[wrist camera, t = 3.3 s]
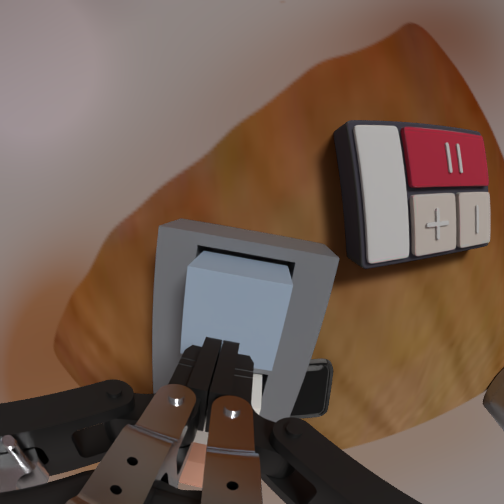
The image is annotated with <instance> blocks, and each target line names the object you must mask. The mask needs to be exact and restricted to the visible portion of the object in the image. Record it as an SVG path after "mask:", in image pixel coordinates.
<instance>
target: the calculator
mask: <svg viewBox="0 0 504 504" xmlns="http://www.w3.org/2000/svg"><path fill="white" fill-rule="evenodd" d="M334 141H335V147H336V154H337V161H338V168H339V176H340V184H341V192H342V202H343V212H344V223H345V236H346V251H347V257H348V258H349V259H350V260H352V261H353V262H355V263H356V264H358V265H359V266H361V267H362V268H364V269H368V268H374V267H380V266H386V265H392V264H397V263H403V262H408V261H414V260H419V259H425V258H430V257H435V256H440V255H445V254H450V253H455V252H460V251H465V250H470V249H475V248H479V247H484V246H487V245H488V242H489V241H490V196H489V193H488V184H489V180H488V170H487V162H486V154H485V148H484V142H483V138H482V136H481V134H480V133H479V132H477V131H472V130H466V129H460V128H453V127H446V126H439V125H430V124H420V123H408V122H393V121H366V120H351V121H348V122H346V123H345V124H343V125H342V126H341V127H339V128H338V129H337V130H336V131H334Z"/></svg>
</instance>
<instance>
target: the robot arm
mask: <svg viewBox="0 0 504 504" xmlns="http://www.w3.org/2000/svg"><path fill="white" fill-rule="evenodd" d="M239 344H240V343H238V342H232V341H227V340H223V344H222V340H221V339H216V338H211V337H206V338H205V340H204V343H203V345H202V347H201V346H196V345H191V346H190V347H188V348H187V349H185V350H184V353H183V355H182V357H181V359H180V361H179V363H178V365H177V367H176V369H175V371H174V373H173V375H172V377H171V379H170V382H169V384H168V385H165V386H162V387H161V388H160V389H159V390H158V391H157V392H156V393H154V394H137V393H133V389H132V388H131V387H130V386H129V385H128V384H127V383H125V382H123V381H120V380H106V381H102V382H99V383H95V384H91V385H87V386H83V387H79V388H76V389H71V390H67V391H63V392H59V393H55V394H50V395H45V396H40V397H35V398H30V399H25V400H19V401H14V402H8V403H1V404H0V504H263V500H262V486H261V479H262V480H263V481H264V482H265V483H266V484H267V485H268V486H269V487H270V488H271V489H272V490H273V491H274V492H275V493H276V494H277V495H278V496H279V497H280V498H281V499H282V500H283V501H284V502H285V503H286V504H422V503H420V502H418V501H416V500H415V499H413V498H411V497H410V496H408V495H406V494H405V493H403V492H402V491H400V490H398V489H397V488H395V487H394V486H392V485H391V484H389V483H388V482H386V481H384V480H383V479H381V478H380V477H378V476H377V475H375V474H374V473H373V472H371V471H370V470H368V469H367V468H365V467H364V466H363V465H361V464H360V463H358V462H357V461H356V460H354V459H353V458H352V457H350V456H349V455H348V454H346V453H345V452H344V451H342V450H341V449H340V448H338V447H337V446H336V445H335V444H333V443H332V442H331V441H329V440H328V439H327V438H326V437H324V436H323V435H322V434H321V433H319V432H318V431H317V430H316V429H315V428H313V427H312V426H311V425H310V424H308V423H307V422H306V421H304V420H302V419H299V418H294V417H286V418H282V419H280V420H278V421H277V422H273V421H271V420H268V419H265V418H263V417H261V416H260V415H258V414H257V413H256V412H255V411H254V409H253V407H252V404H251V400H252V385H253V371H254V362H253V361H252V359H251V357H250V356H249V355H243V354H238V350H239ZM483 405H484V407H485V408H486V409H487V410H488V412H489V413H490V414H491V415H492V416H493V418H494V419H495V420H496V422H497V423H498V424H499V426H500V427H501V428H502V429H503V431H504V368H503V370H502V371H501V372H500V373H499V374H498V375H497V376H496V378H495V379H494V380H493V382H492V383H491V385H490V386H489V388H488V390H487V391H486V394H485V396H484V399H483ZM205 422H206V426H205ZM97 424H98V425H97ZM94 425H95V426H94ZM91 426H92V427H91ZM204 426H205V432H208V440H207V448H206V456H205V465H204V474H203V484H202V491H196V490H180V489H178V483H179V479H180V476H181V474H182V471H183V469H184V466H185V464H186V461H187V459H188V456H189V454H190V451H191V448H192V446H193V441H194V439H195V436H196V432H197V430H199V431H203V430H204ZM84 428H85V429H84ZM77 430H78V431H77ZM100 461H101V462H100ZM97 462H100V463H99V465H98V466H97V468H96V469H95V470H89V471H84V472H81V473H78V474H76V475H72V476H69V477H66V478H63V479H59V480H55V481H52V482H48V479H49V476H52V475H56V474H60V473H64V472H68V471H71V470H75V469H78V468H81V467H85V466H88V465H91V464H94V463H97ZM47 482H48V483H47Z"/></svg>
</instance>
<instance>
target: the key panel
mask: <svg viewBox="0 0 504 504" xmlns="http://www.w3.org/2000/svg"><path fill="white" fill-rule="evenodd" d="M203 251H209V252H214V253H219V254H225V255H230V256H236V257H241V258H247V259H252V260H258V261H264V262H269V263H275V264H280V265H286V266H288V268H289V272H290V275H291V279H292V283H293V288H292V293H291V297H290V301H289V306H288V310H287V314H286V318H285V322H284V326H283V330H282V334H281V338H280V342H279V346H278V349H277V353H276V357H275V361H274V364H273V368H272V371H269V370H262V369H256V368H254V371H253V373H254V374H260V375H262V398H261V410H260V414H259V415H260V416H261V417H263V418H265V419H268V420H271V421H273V422H277V421H278V420H280V419H282V418H286V417H290V414H291V412H292V409H293V407H294V404H295V401H296V399H297V396H298V394H299V391H300V388H301V385H302V383H303V380H304V377H305V374H306V371H307V368H308V366H309V363H310V360H311V357H312V354H313V351H314V347H315V344H316V341H317V338H318V335H319V332H320V328H321V325H322V322H323V318H324V315H325V311H326V308H327V304H328V301H329V297H330V294H331V290H332V286H333V282H334V278H335V275H336V271H337V267H338V262H339V257H338V256H337V255H336V254H334V253H333V252H332V251H331V250H330V249H329V248H328V247H327V246H326V245H325V244H321V243H316V242H311V241H305V240H300V239H295V238H289V237H284V236H279V235H273V234H268V233H262V232H257V231H251V230H245V229H240V228H234V227H228V226H223V225H217V224H211V223H205V222H199V221H193V220H187V219H178V220H175V221H172V222H169V223H166V224H163V225H160V226H159V231H158V240H157V251H156V263H155V277H154V295H153V326H152V363H153V393H156V392H157V391H158V390H159V389H160V388H161V387H162V386H165V385H168V384H169V382H170V379H171V377H172V375H173V373H174V371H175V369H176V367H177V365H178V363H179V361H180V359H181V357H182V355H183V354H181V353H180V350H181V334H182V320H183V308H184V297H185V286H186V277H187V267H188V265H189V264H190V263H191V262H192V261H193V260H194V259H195V258H197V257H198V256H199V255H200V254H201V253H202V252H203Z"/></svg>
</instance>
